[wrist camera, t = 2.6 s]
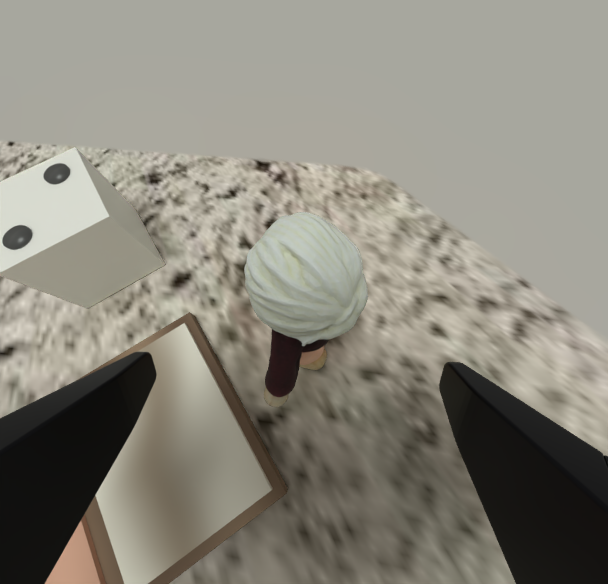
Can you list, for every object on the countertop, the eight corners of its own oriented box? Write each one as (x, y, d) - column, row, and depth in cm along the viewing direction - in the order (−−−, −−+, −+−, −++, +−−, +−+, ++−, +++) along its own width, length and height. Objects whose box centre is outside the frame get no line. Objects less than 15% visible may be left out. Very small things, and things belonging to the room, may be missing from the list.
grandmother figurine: (297, 283, 20) (271, 117, 8) (351, 297, 19) (409, 141, 7) (262, 394, 17) (146, 396, 5) (322, 413, 17) (340, 462, 5)
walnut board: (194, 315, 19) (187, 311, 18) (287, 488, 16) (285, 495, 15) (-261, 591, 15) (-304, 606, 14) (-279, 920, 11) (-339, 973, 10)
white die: (135, 208, 22) (73, 144, 17) (165, 264, 21) (107, 214, 15) (62, 246, 22) (-30, 192, 16) (87, 308, 20) (-7, 273, 14)
